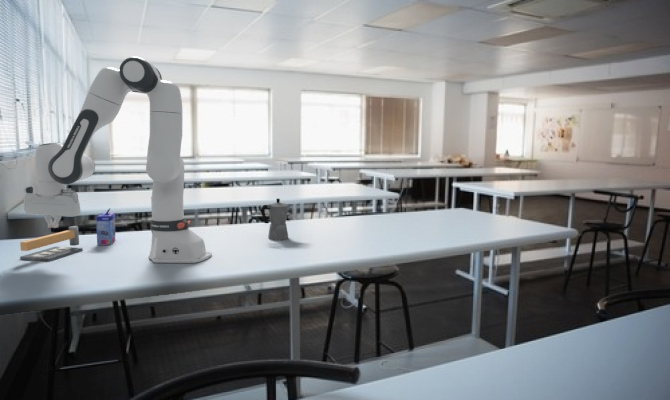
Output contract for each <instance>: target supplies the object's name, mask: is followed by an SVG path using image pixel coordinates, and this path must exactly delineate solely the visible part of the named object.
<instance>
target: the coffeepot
mask: <svg viewBox="0 0 670 400" xmlns="http://www.w3.org/2000/svg"><path fill="white" fill-rule="evenodd" d="M275 201H276V202H274V203H270V204H264V205H262V207H261V208H260V214H261V216H262V219H263V223H264V224H269V223H270V224H269V230H268V235H267V237H268V239H269V240H270V241H284V240H287V239H289V233H288V227H287V223H286V221H287V220H288V212H289V208H290V207H291V206H292V205H291V204H289V203H283V202H280V201H281V198H276V200H275ZM266 210H268V215H269V220H267V216H266Z"/></svg>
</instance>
